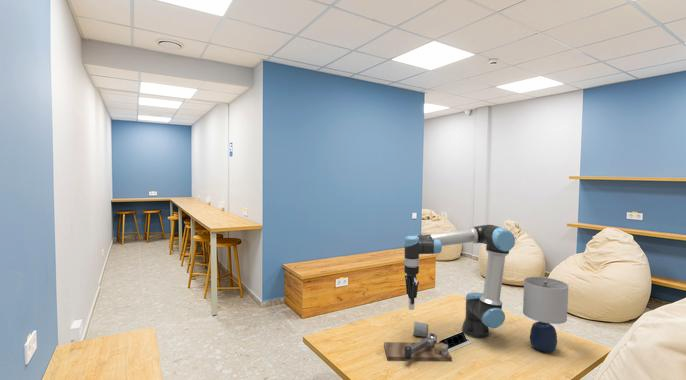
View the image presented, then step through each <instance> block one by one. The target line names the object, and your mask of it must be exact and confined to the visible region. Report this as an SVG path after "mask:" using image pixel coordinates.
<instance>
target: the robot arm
mask: <svg viewBox="0 0 686 380" xmlns="http://www.w3.org/2000/svg"><path fill="white" fill-rule="evenodd" d="M468 243H469V244H470V243H472V244H483V245H486V246H485V250H486V253H488V254H487V262H486V271H485V277H484V285H483V292H469V293H466V295H465V318H464V321H463V323H462V325H461V330H462V331H461V332H464V333H463V334H465V335H466V336H469V337H472V338H477V339H484V338H488V337H489V336H490V328H491V329H497V328H498V327H499V328H500V326H502V325H503V324H504V322H505V319H506V314H505V312H504V311H503V309H502V308H503V301H501V293H502V292H501V291H502V285H503V278H504V277H503V276H504V271H505V263H506V256H508V255H509V254H510V251H511V250H512V249H513V248H514V247H515V243H516V238H515V234H514V233H513V232H512V231H511V230H510V229H508V228H506V227H502V226H498V225H494V224H484V225H477V226H471V227H470V228H467V229H461V230H453V231H452V230H451V231H445V232H438V233H437V232H436V233H430V234H415V235H408V236H405V238H404V244H403V246H404V260H403V262H404V270H403V271H404V273H405V274H406V275H404V279H405V289H406V290H405V291H406V295H407V296H408V310H409V311H414V310H415V299H417V297H418V290H419V289H418V287H419V284H420V282H419V281H417V275H418V274H419V273H420V267H419V265H420V255H438V254H440V253H442V250H443V247H446V246H453V245H460V244H468Z"/></svg>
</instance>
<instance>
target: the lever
mask: <svg viewBox="0 0 686 380" xmlns="http://www.w3.org/2000/svg"><path fill="white" fill-rule="evenodd" d="M415 343H416V344H414V345H413V346H411V347H410V346H405V356H404V357H405V359H411V355H412V354H414V353H416V352H417V351H419V350H421V349H422V348H424V347H426V346H429V347H430V346H432V345H433V344H435V343H438V335H437V334H436V333H434V332H430V333H428V335H427V337H424V338H423V339H422V340H420V341H418V342H415Z"/></svg>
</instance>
